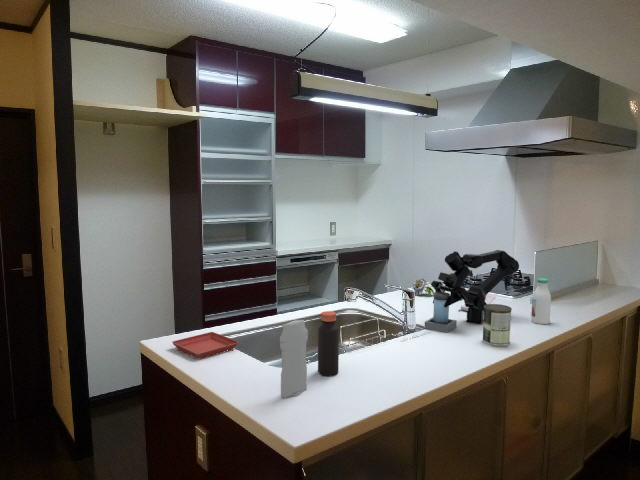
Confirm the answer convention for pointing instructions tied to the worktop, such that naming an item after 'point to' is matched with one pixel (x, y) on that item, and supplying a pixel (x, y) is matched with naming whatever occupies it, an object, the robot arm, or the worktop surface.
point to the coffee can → (496, 324)
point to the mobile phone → (488, 300)
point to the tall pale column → (293, 358)
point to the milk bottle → (541, 303)
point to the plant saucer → (205, 344)
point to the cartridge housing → (440, 325)
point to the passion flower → (422, 287)
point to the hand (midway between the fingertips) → (438, 305)
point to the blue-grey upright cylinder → (440, 307)
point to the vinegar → (328, 345)
